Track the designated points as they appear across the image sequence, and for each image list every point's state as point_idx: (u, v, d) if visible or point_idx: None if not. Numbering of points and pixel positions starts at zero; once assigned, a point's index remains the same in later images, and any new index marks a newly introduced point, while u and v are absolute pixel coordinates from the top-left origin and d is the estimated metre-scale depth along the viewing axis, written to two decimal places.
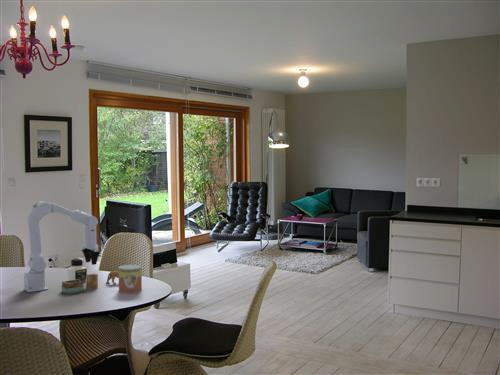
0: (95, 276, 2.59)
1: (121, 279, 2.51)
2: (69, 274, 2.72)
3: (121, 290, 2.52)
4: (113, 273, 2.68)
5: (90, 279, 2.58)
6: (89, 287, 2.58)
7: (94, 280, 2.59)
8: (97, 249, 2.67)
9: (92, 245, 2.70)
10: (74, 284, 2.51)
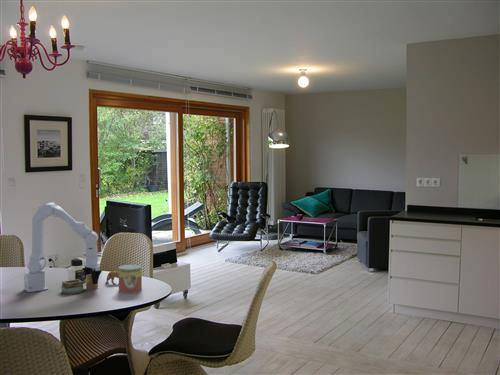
0: None
1: (121, 279, 2.51)
2: (69, 274, 2.72)
3: (121, 290, 2.52)
4: (112, 273, 2.68)
5: (90, 279, 2.58)
6: (89, 287, 2.58)
7: None
8: (98, 268, 2.54)
9: (93, 264, 2.57)
10: (74, 284, 2.51)
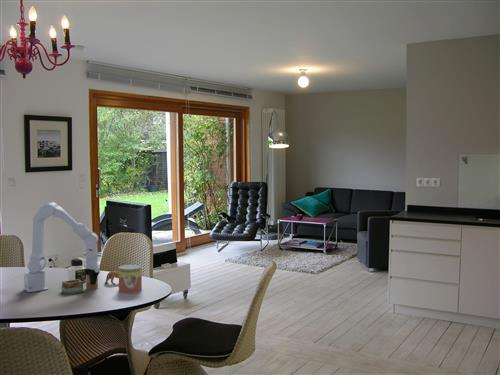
0: None
1: (121, 279, 2.51)
2: (69, 274, 2.72)
3: (121, 290, 2.52)
4: (112, 273, 2.68)
5: None
6: (89, 287, 2.58)
7: None
8: (98, 269, 2.54)
9: (93, 265, 2.57)
10: (74, 284, 2.51)
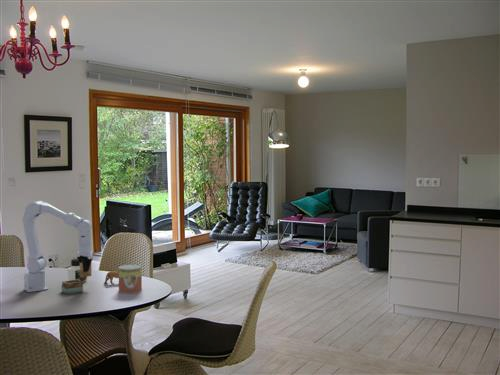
0: None
1: (121, 279, 2.51)
2: (69, 274, 2.72)
3: (121, 290, 2.52)
4: (111, 273, 2.67)
5: None
6: (82, 275, 2.55)
7: None
8: (91, 256, 2.51)
9: (86, 252, 2.54)
10: (74, 284, 2.51)
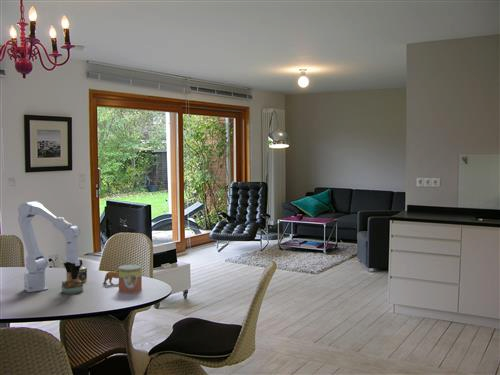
0: None
1: (121, 279, 2.51)
2: None
3: (121, 290, 2.52)
4: (110, 273, 2.67)
5: (71, 277, 2.51)
6: None
7: None
8: (78, 263, 2.47)
9: (73, 258, 2.50)
10: (74, 284, 2.51)
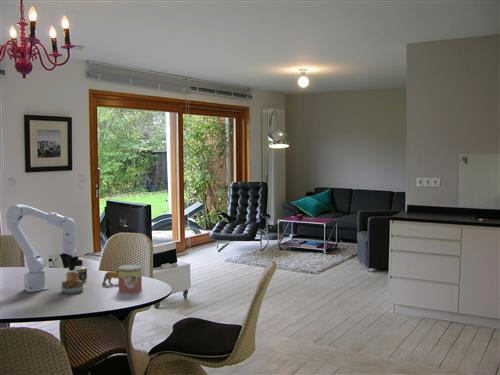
0: (76, 274, 2.53)
1: (121, 279, 2.51)
2: None
3: (121, 290, 2.52)
4: (110, 273, 2.67)
5: (71, 277, 2.51)
6: None
7: (75, 278, 2.53)
8: (75, 254, 2.53)
9: (70, 250, 2.56)
10: (74, 284, 2.51)
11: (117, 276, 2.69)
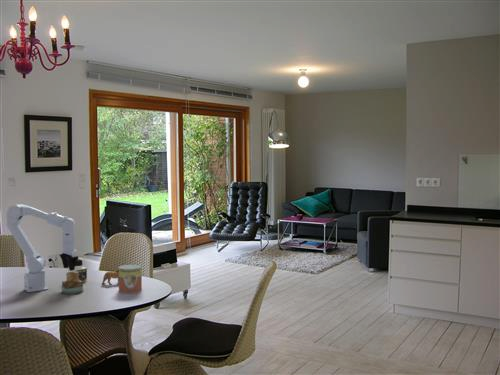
0: (76, 274, 2.53)
1: (121, 279, 2.51)
2: None
3: (121, 290, 2.52)
4: (109, 274, 2.67)
5: (71, 277, 2.51)
6: None
7: (75, 278, 2.53)
8: (75, 254, 2.53)
9: (70, 250, 2.56)
10: (74, 284, 2.51)
11: (116, 276, 2.69)
